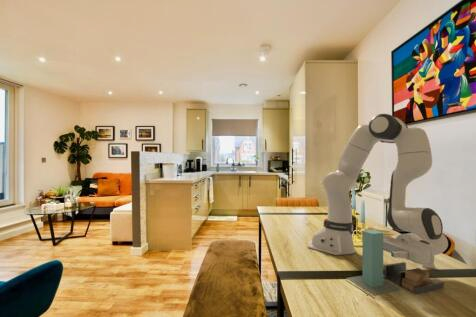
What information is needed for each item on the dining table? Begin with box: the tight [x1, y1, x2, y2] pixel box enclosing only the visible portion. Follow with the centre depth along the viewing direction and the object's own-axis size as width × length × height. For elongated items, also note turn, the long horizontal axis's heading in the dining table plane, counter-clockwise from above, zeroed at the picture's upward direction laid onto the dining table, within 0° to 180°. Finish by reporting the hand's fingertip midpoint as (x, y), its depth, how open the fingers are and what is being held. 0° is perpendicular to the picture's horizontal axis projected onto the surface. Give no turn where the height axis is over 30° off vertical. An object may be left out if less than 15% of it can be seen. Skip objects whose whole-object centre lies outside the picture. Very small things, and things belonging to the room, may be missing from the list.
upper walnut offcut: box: [405, 267, 430, 284], centre depth 82 cm, size 7×4×2 cm, turn 114°
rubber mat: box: [345, 274, 403, 300], centre depth 84 cm, size 12×12×1 cm
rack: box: [383, 261, 445, 295], centre depth 86 cm, size 13×14×5 cm
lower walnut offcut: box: [402, 278, 434, 291], centre depth 82 cm, size 9×4×2 cm, turn 108°
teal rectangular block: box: [362, 229, 384, 287], centre depth 84 cm, size 5×4×18 cm
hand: (380, 249), depth 85 cm, fingers open, 8 cm apart
